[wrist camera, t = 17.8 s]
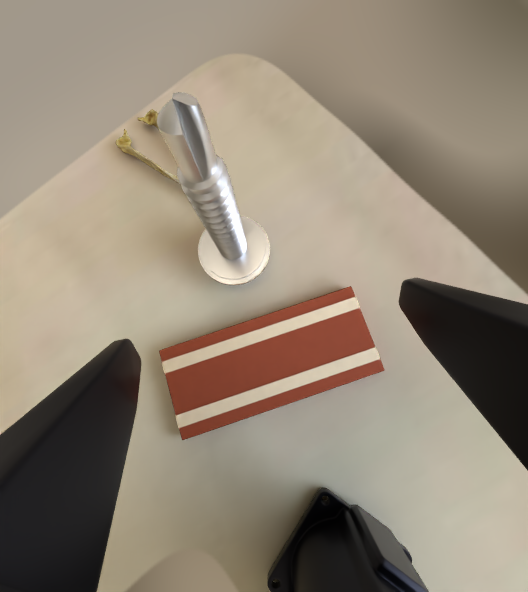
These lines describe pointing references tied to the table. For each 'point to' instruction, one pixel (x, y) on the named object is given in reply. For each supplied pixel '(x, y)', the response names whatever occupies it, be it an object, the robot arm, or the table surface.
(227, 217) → the screw
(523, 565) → the table surface
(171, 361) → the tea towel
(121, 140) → the tongs
